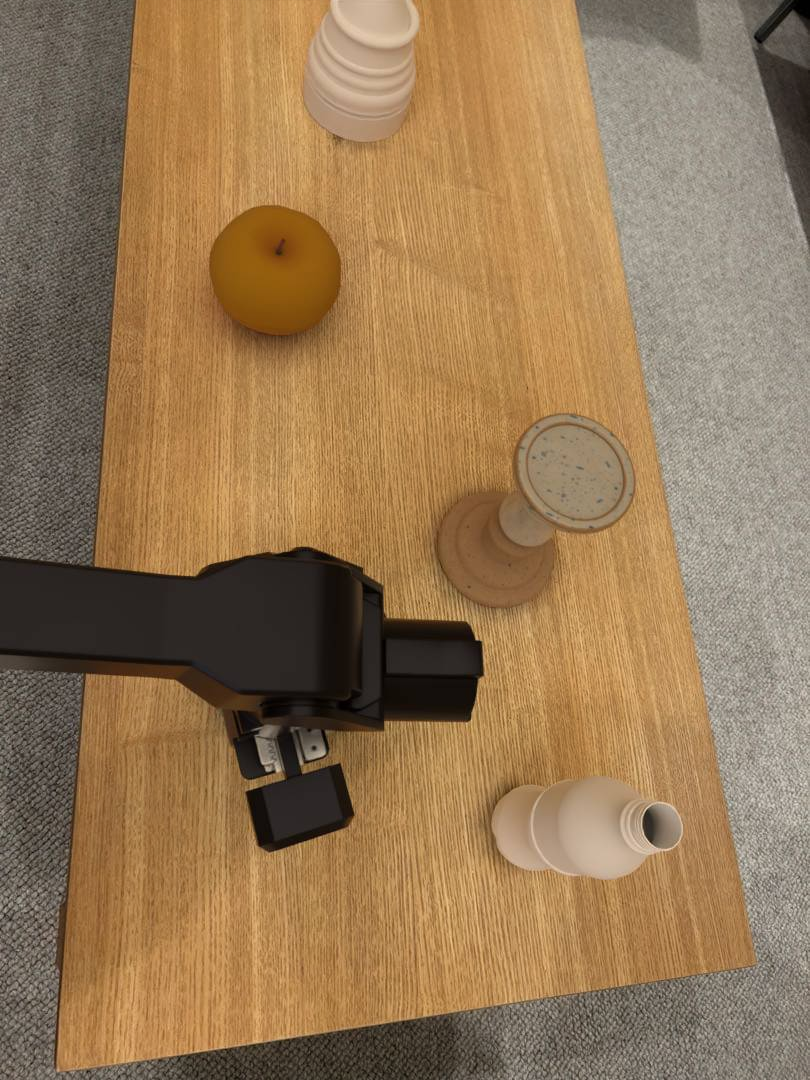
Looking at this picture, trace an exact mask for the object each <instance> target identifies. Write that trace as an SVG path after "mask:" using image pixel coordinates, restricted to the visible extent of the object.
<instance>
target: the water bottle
mask: <svg viewBox="0 0 810 1080" xmlns="http://www.w3.org/2000/svg"><path fill="white" fill-rule="evenodd" d="M493 809H494V810H493V812H492V815H491V816H492V817H491V822H490V825H491V830H492V833H493V835H494V838H495V841H496V843H495V844H496V847H497V851H499V853H500V854H501V856H502V857H503V858H505V860H507V862H509V863H510V864H512V865H513V866H515V867H517V868H519V869H522V870H526V871H528V872H529V871H530V872H542V871H547V870H549V869H550V870H551V871H554V872H556V873H557V874H561V875H565V876H570V877H580V876H581V877H582V876H583V877H588V878H593V879H596V880H604V881H610V880H616V879H620V878H624V877H625V876H628V875H629V874H632V873H633V872H635V871H636V870H637V869H639V867H640V866H641V865H643V863H644V862H645V861H646V860H647V858H648V856H652V855H654V854H657V853H659V852H668V851H670V850H673V849H674V848H676V847H677V846H678V845H679V844H680V842H681V840H682V838H683V835H684V834H683V833H684V824H683V821H682V818H681V815H680V814H679V812H678V811H677V809H676V808H675V807H674V806H673V805H672V804H670V803H668V802H663V801H661V800H660V801H658V800H653V799H651V798H647V797H643V796H642V795H641V794H640V793H639V791H637V790H636V789H635V788H633V787H632V786H631V785H629V784H628V783H627V782H625V781H622V780H621V779H618V778H616V777H612V776H608V775H598V774H597V775H593V774H592V775H589V776H584V777H581V778H577V779H574V778H568V779H563V780H560V781H557V782H554V783H553V784H551V785H549V786H548V787H545V786H542V785H539V784H523V785H521V786H517V787H515V788H513V789H511V790H510V791H508V793H506V794H505V795H504V796H501V798H500V799H499V801H498V802H497V804H496V805H495V807H494V808H493Z"/></svg>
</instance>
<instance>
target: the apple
mask: <svg viewBox="0 0 810 1080" xmlns="http://www.w3.org/2000/svg"><path fill="white" fill-rule="evenodd" d="M208 264H209V265H208V271H209V278H210V281H211V285H212V290H213V293H214V295H215V297H216V299H217V301H218V303H219V304H220V307H222V309H223V311H224V312H225V313H226V315H228V316H229V317H230V318H231V319H232V320H233V321H234V322H237V323H238V324H240V325H242V326H243V327H246V328H247V329H250V330H253V331H257V332H259V333H263V334H267V335H272V336H290V335H293V334H297V333H301V332H305V331H307V330H308V329H311V328H313V327H315V326H317V325H318V324H320V322H322V320H323V319H324V318H325V317H326V316H327V314H328V313H329V312H330V311H331V310H332V308H333V306H334V304H335V303H336V301H337V299H338V297H339V295H340V290H341V283H342V281H341V280H342V279H341V278H342V277H341V276H342V259H341V256H340V252H339V250H338V248H337V245H336V243H335V242H334V240H333V239H332V236H331V235H330V234H329V232H328V231H327V230H326V229H325V228H324V227H323V225H322V224H321V223H320V222H319V221H318V220H317V219H315V218H313V217H312V216H310V215H308V214H307V213H305V212H304V211H303V212H302V211H299V210H295V209H293V208H289V207H286V206H283V205H278V204H263V205H259V206H258V205H257V206H254V207H251V208H248V209H247V210H244V211H243V212H242V213H240V214H239V215H237V216H236V217H234V218H233V219H232V220H231V221H229V222H228V224H227V225H226V226H225V227H224V228H223V230H222V231H220V233H219V234H218V236H217V237H216V238H215V240H214V241H213V244H212V247H211V249H210V251H209V263H208Z"/></svg>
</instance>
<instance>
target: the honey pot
mask: <svg viewBox="0 0 810 1080" xmlns="http://www.w3.org/2000/svg"><path fill="white" fill-rule="evenodd" d="M420 23H421V19H420V15H419V11H418V8H417V6H416V5H415V4H414V2H413V0H330V1H329V10H328V11H327V12H326V13H324V16H323V18H322V19H321V22H320V25H319V27H318V29H317V30H316V33H314V35H313V37H312V39H311V40H310V42H309V44H308V48H307V55H306V63H305V70H304V77H303V85H302V92H301V93H302V99H303V103H304V106H305V108H306V109H307V111H308V113H309V115H310V116H311V117H312V118H313V119H314V120H315V122H316V123H317V124H318V125H319V126H321V127H322V128H323V129H325V130H326V131H328V132H329V133H330V134H332V135H335V136H338V137H340V138H342V139H345V140H348V141H353V142H357V143H373V142H379V141H383V140H385V139H387V138H390V137H391V136H394V135H395V134H396V133H397V132H398V131H399V130H400V129H401V128H402V126H403V124H404V123H405V120H406V118H407V114H408V110H409V106H410V103H411V99H412V96H413V93H414V88H415V85H416V74H417V69H416V65H415V53H414V52H415V42H414V40H415V39H416V38H417V35H418V33H419V32H420Z"/></svg>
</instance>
